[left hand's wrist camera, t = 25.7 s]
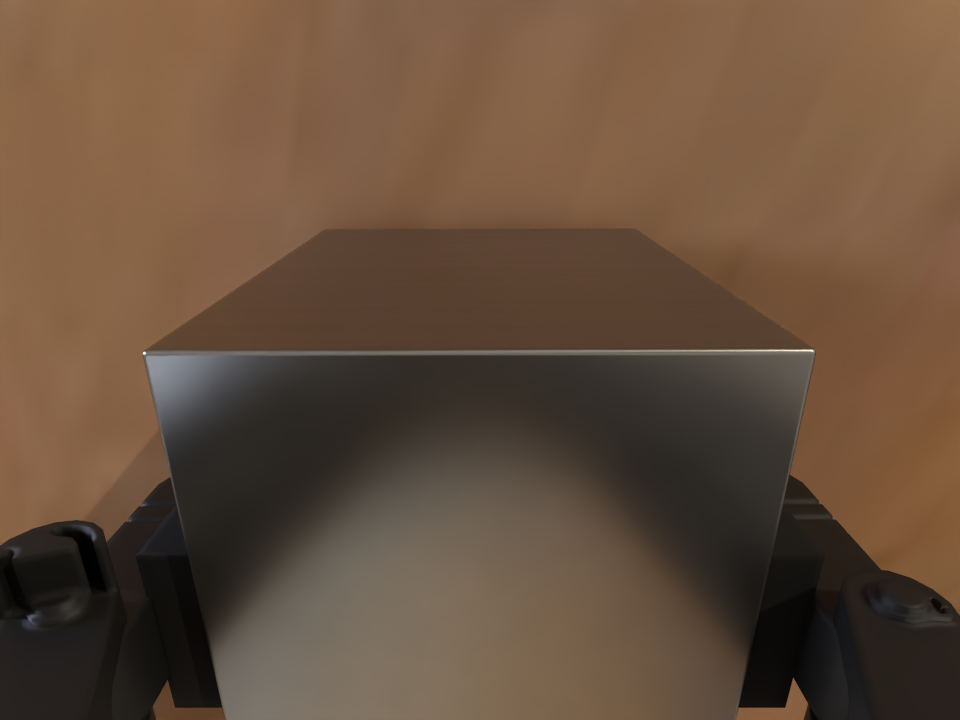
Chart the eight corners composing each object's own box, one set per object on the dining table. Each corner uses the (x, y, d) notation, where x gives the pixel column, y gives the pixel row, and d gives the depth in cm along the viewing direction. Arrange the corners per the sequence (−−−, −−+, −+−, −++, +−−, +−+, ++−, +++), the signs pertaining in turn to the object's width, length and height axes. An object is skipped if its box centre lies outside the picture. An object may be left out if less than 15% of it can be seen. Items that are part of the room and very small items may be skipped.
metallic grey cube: (352, 527, 17) (251, 844, 9) (323, 229, 14) (138, 350, 6) (608, 526, 17) (710, 844, 9) (636, 228, 14) (818, 349, 6)
